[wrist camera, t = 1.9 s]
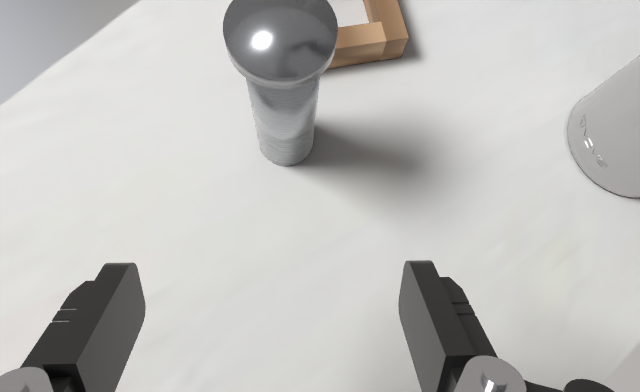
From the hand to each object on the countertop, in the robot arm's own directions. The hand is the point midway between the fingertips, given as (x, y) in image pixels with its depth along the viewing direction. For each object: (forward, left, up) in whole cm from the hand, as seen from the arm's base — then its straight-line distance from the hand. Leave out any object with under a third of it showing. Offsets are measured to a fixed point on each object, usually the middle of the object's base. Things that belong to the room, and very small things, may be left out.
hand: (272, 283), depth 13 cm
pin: (-2, -11, -16) cm, 20 cm away
